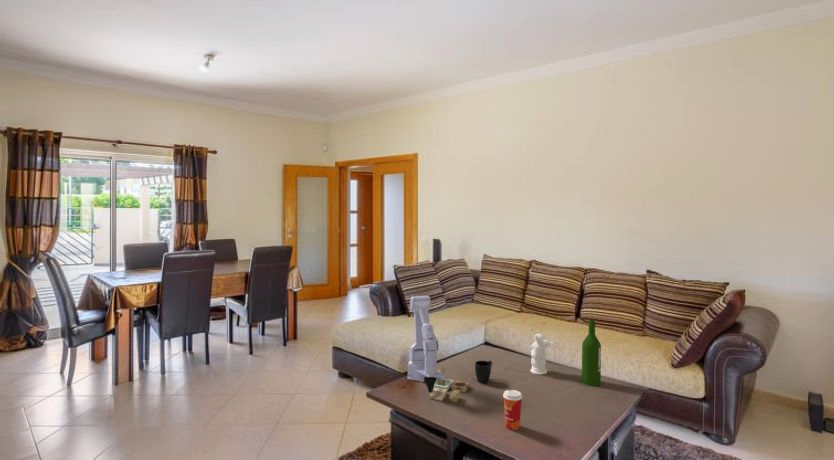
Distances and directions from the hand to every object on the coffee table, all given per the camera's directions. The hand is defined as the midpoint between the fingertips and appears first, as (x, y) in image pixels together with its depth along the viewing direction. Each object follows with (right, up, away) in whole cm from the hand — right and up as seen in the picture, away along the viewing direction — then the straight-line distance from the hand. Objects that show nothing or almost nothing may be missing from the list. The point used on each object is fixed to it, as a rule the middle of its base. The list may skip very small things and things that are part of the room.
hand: (430, 391), depth 205 cm
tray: (+6, -1, +11) cm, 12 cm away
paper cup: (+32, -3, -31) cm, 45 cm away
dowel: (+6, 0, +11) cm, 12 cm away
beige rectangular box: (+4, -2, -2) cm, 4 cm away
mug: (+29, -1, +17) cm, 34 cm away
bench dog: (+11, -2, -5) cm, 13 cm away
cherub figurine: (+61, 0, +27) cm, 67 cm away
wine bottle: (+82, -1, +14) cm, 84 cm away
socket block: (+15, -1, +7) cm, 17 cm away
